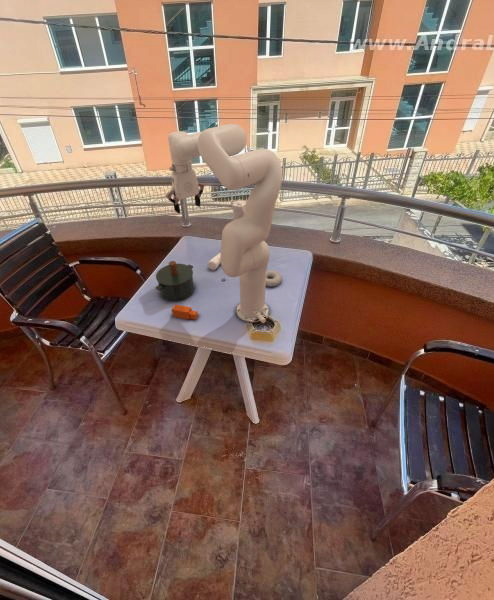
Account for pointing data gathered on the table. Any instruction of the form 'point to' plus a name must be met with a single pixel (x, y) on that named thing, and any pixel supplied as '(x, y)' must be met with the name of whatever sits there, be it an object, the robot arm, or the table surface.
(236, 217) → the grater
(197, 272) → the table surface
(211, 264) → the unicorn horn
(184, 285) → the pot
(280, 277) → the donut
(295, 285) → the table surface
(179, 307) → the orange bottle
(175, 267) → the pot lid
